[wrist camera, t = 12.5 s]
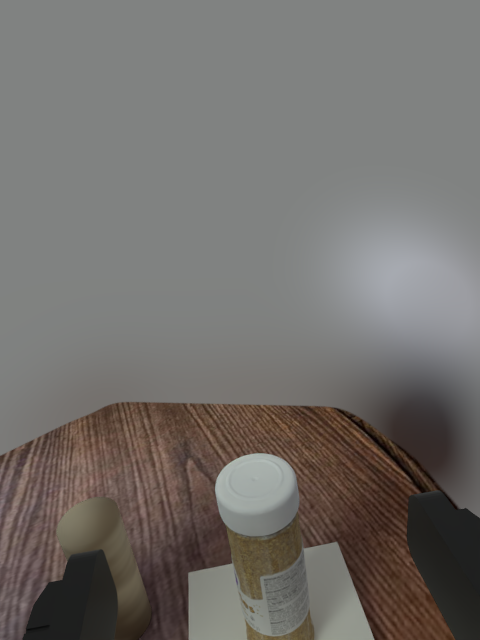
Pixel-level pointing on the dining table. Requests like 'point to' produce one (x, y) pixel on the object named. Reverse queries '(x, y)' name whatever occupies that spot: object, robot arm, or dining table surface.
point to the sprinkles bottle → (266, 546)
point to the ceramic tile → (324, 593)
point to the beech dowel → (109, 558)
